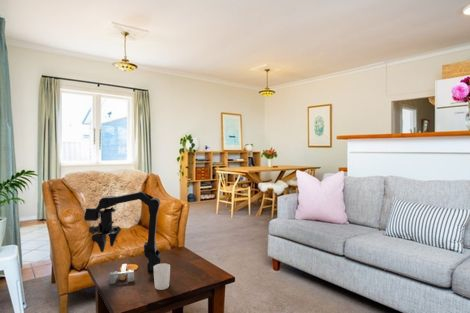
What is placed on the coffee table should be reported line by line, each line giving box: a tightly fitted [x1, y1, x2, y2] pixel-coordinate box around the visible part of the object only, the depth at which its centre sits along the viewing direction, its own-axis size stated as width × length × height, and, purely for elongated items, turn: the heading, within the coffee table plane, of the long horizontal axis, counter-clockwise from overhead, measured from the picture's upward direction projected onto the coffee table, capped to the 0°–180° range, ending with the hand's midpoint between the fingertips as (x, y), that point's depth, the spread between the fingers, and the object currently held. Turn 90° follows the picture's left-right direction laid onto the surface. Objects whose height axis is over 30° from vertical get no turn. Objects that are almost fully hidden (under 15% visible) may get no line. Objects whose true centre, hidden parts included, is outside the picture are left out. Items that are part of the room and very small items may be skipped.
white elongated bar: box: [118, 263, 128, 281], centre depth 161 cm, size 16×3×3 cm, turn 16°
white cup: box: [153, 262, 171, 291], centre depth 146 cm, size 8×8×10 cm
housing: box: [109, 269, 135, 285], centre depth 154 cm, size 11×6×5 cm, turn 106°
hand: (107, 249), depth 162 cm, fingers open, 9 cm apart
